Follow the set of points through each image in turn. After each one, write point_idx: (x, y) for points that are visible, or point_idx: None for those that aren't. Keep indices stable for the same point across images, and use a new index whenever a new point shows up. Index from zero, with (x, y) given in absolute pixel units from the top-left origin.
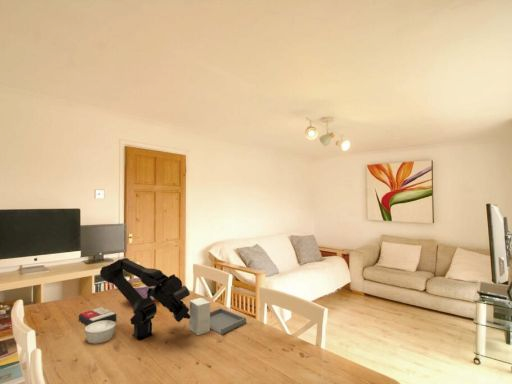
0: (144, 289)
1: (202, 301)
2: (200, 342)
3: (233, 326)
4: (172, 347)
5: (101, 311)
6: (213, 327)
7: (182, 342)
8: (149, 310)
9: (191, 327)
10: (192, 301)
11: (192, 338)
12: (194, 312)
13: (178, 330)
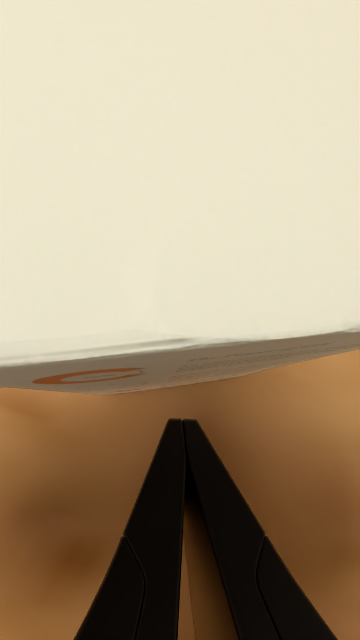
0: None
1: (293, 56)
2: (344, 394)
3: None
4: (336, 636)
5: None
6: None
7: (292, 524)
8: None
9: (148, 389)
10: (81, 308)
11: (266, 426)
12: (247, 366)
13: (70, 492)
